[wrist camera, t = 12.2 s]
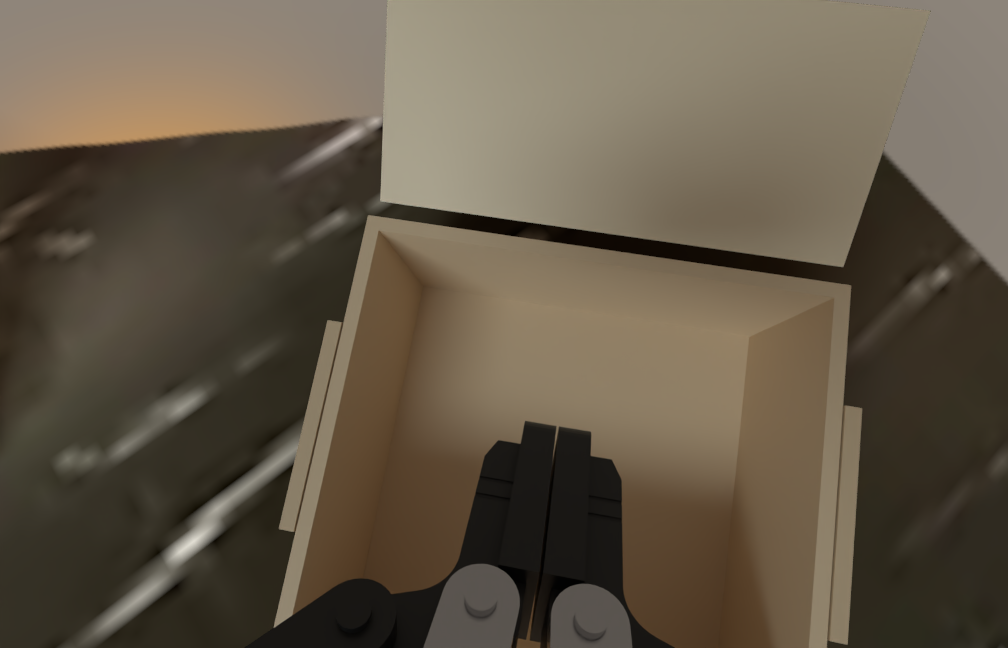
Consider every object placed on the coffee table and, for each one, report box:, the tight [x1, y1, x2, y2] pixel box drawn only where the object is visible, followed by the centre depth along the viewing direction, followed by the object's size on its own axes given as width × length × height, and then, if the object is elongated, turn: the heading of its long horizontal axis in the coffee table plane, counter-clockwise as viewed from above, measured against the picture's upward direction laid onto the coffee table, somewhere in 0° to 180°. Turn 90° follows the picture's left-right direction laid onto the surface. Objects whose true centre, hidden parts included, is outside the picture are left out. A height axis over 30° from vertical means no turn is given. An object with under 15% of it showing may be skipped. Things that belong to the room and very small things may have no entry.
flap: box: [380, 0, 931, 267], centre depth 22 cm, size 19×9×1 cm
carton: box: [274, 215, 862, 648], centre depth 27 cm, size 21×19×10 cm
